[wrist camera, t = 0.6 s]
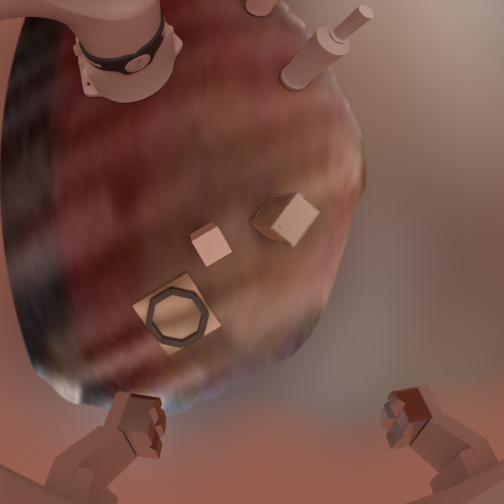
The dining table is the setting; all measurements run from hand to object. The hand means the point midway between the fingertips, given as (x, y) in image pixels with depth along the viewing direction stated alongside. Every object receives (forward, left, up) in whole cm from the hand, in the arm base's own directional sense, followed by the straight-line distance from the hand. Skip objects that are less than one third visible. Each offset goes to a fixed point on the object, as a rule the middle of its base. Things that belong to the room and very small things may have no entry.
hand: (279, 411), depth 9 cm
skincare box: (+2, +12, -41) cm, 43 cm away
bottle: (-18, +28, -41) cm, 53 cm away
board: (+8, -10, -41) cm, 43 cm away
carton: (0, +1, -41) cm, 41 cm away
